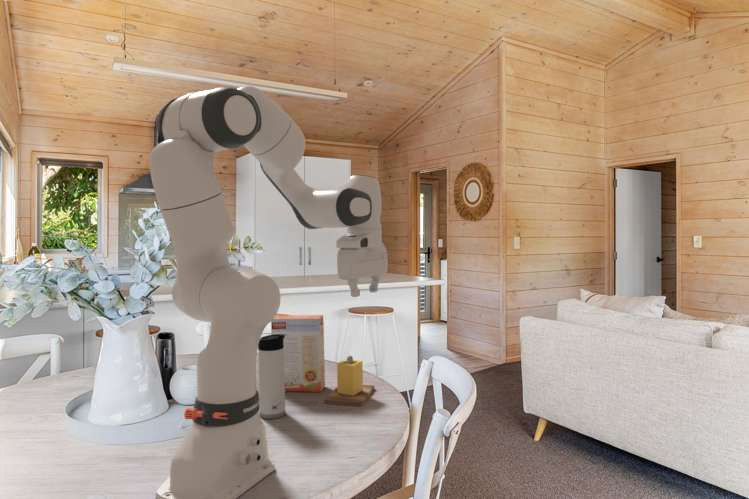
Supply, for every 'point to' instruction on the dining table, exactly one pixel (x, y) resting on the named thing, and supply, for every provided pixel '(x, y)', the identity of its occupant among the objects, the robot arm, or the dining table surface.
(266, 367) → the travel mug
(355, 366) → the collar
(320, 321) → the cracker box
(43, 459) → the dining table surface
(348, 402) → the post board
